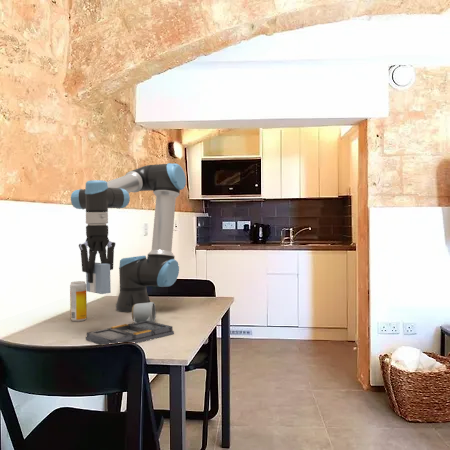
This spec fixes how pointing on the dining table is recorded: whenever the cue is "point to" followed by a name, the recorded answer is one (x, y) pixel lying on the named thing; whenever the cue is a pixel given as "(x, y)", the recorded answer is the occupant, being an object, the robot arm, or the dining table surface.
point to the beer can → (78, 301)
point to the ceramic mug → (144, 312)
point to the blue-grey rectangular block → (101, 278)
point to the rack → (130, 333)
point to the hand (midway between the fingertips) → (98, 291)
